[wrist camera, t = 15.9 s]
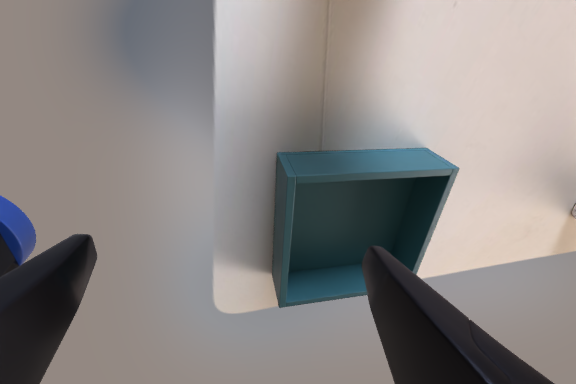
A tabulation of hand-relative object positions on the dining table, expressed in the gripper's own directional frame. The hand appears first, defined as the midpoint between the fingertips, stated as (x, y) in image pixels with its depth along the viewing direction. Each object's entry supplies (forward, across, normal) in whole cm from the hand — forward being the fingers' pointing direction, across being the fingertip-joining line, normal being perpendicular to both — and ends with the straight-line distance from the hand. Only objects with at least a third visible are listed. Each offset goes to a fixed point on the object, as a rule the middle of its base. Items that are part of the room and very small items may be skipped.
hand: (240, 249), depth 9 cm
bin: (+13, -10, +8) cm, 18 cm away
